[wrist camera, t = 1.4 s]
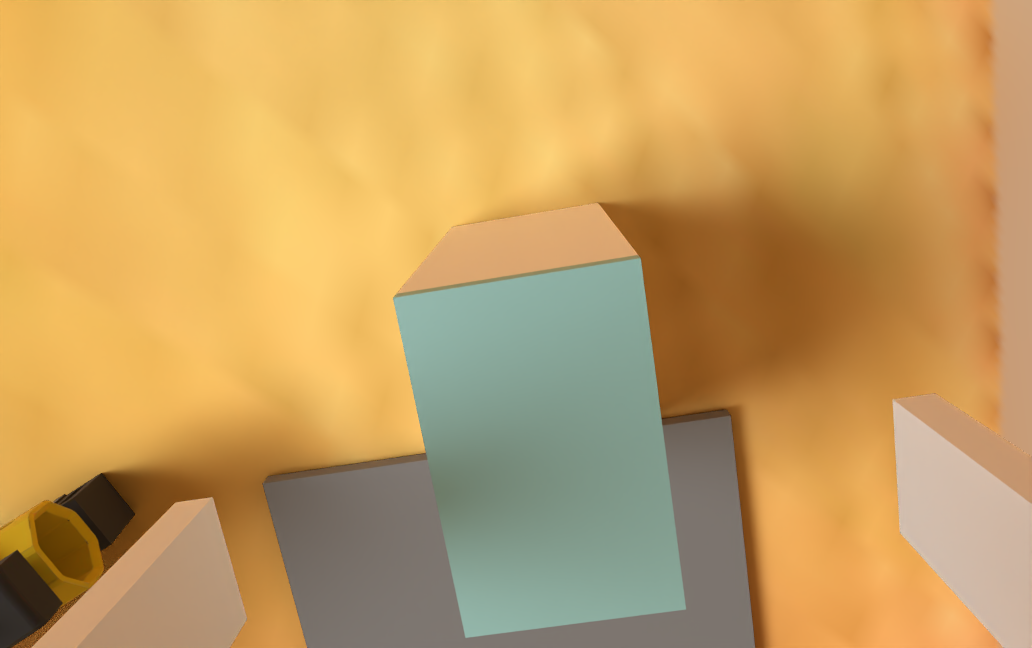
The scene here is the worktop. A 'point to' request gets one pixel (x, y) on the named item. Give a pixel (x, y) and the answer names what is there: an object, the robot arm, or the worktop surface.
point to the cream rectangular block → (542, 421)
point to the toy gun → (55, 555)
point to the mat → (426, 569)
